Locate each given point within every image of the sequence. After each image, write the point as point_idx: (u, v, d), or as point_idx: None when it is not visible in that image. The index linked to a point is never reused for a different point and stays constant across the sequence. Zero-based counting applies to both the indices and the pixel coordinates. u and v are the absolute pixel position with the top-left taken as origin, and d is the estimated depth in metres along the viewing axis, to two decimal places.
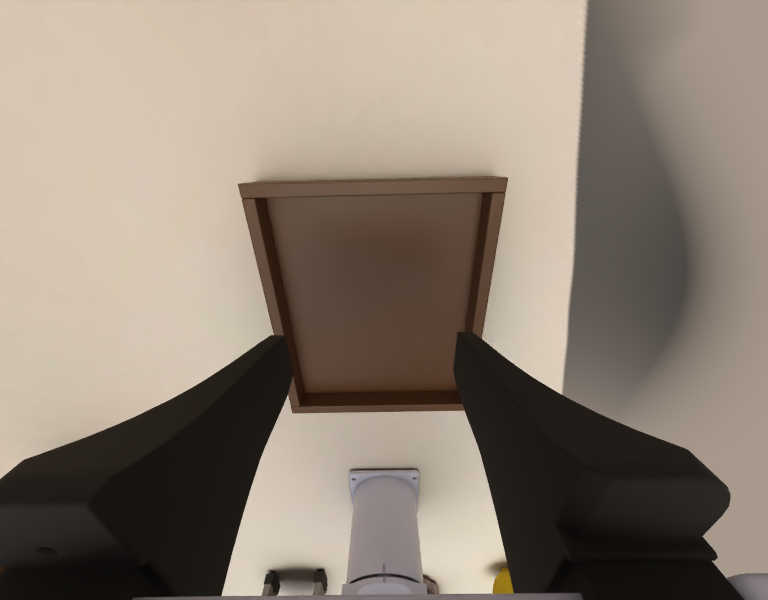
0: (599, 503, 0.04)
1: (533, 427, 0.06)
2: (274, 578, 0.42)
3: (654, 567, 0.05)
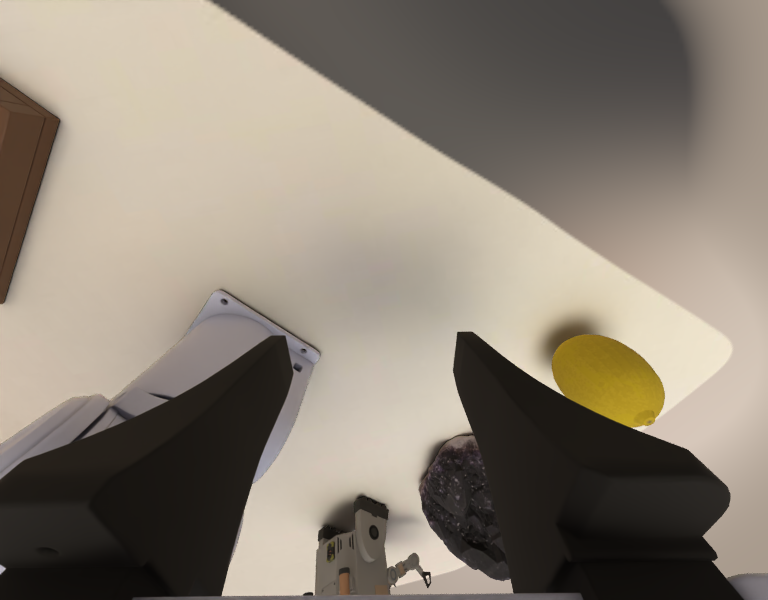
0: (599, 504, 0.04)
1: (533, 428, 0.06)
2: (328, 531, 0.34)
3: (654, 567, 0.05)
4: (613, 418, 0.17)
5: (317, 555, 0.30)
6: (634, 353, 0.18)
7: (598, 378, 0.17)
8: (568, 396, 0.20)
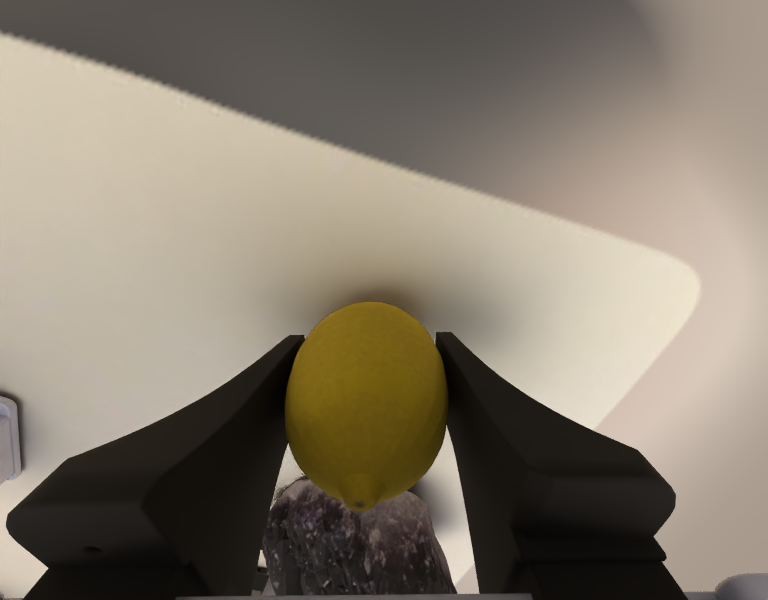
0: (545, 504, 0.04)
1: (493, 428, 0.06)
2: None
3: (603, 567, 0.05)
4: (321, 489, 0.07)
5: None
6: (379, 330, 0.08)
7: (288, 400, 0.08)
8: None
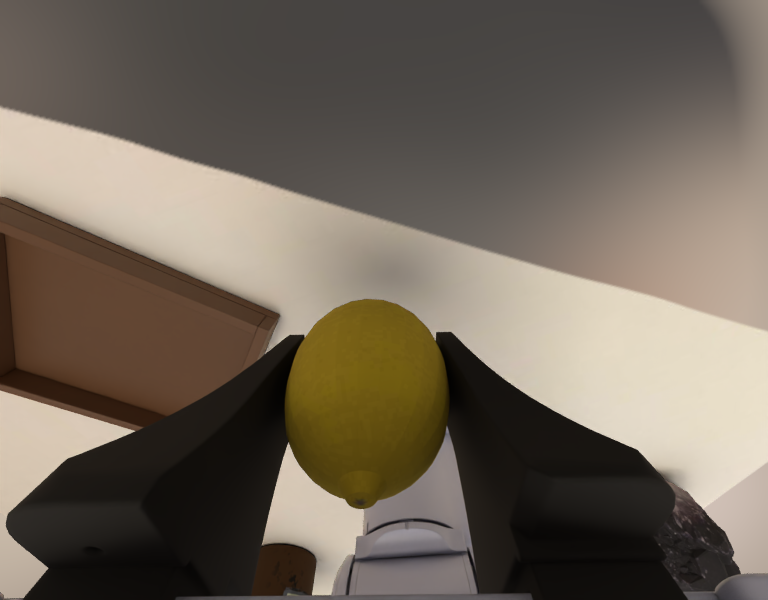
0: (545, 504, 0.04)
1: (492, 428, 0.06)
2: None
3: (603, 567, 0.05)
4: None
5: None
6: (379, 327, 0.08)
7: (288, 397, 0.08)
8: None
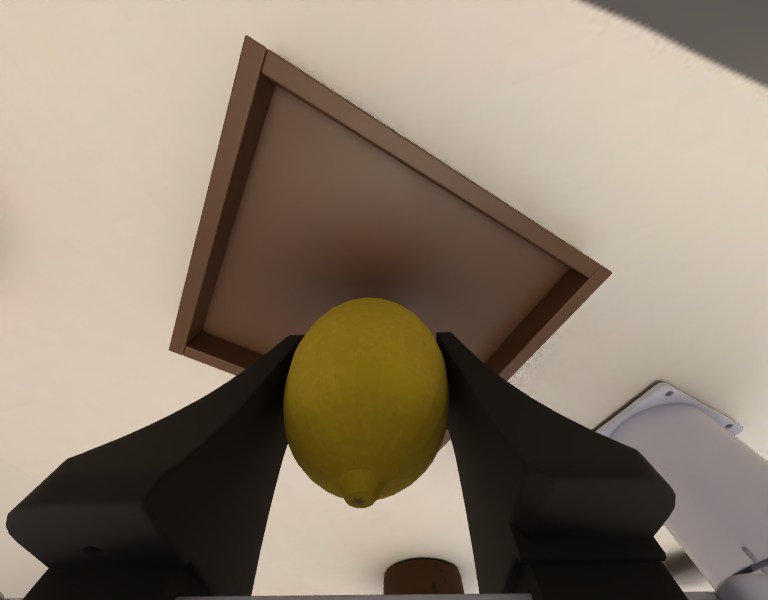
0: (545, 504, 0.04)
1: (492, 428, 0.06)
2: None
3: (603, 567, 0.05)
4: (320, 486, 0.07)
5: None
6: (378, 325, 0.08)
7: (286, 396, 0.08)
8: None
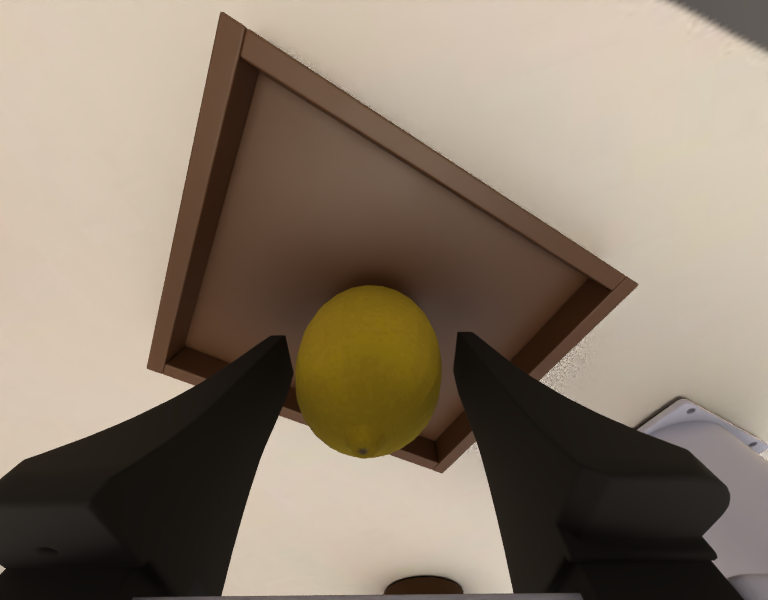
0: (599, 503, 0.04)
1: (533, 428, 0.06)
2: None
3: (654, 567, 0.05)
4: (328, 445, 0.08)
5: None
6: (379, 306, 0.09)
7: (298, 368, 0.09)
8: None
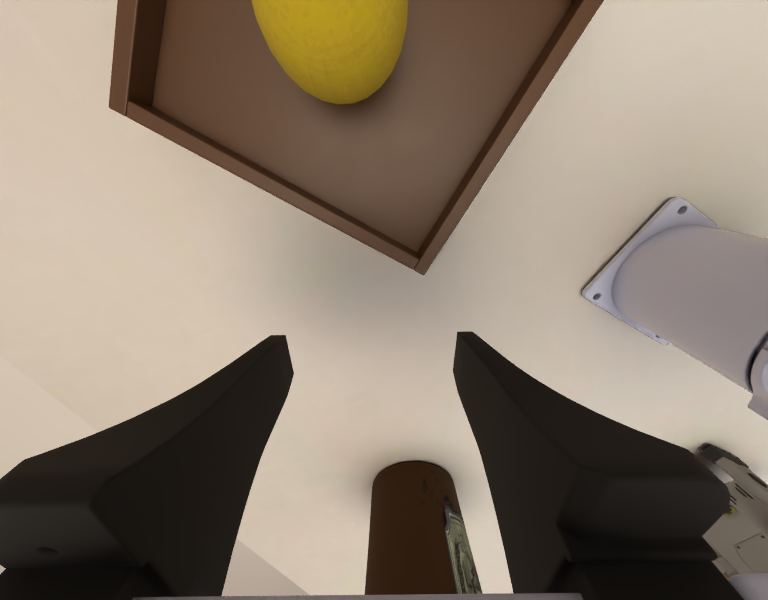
0: (598, 503, 0.04)
1: (533, 428, 0.06)
2: None
3: (654, 567, 0.05)
4: None
5: None
6: None
7: None
8: (280, 64, 0.10)
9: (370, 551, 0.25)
